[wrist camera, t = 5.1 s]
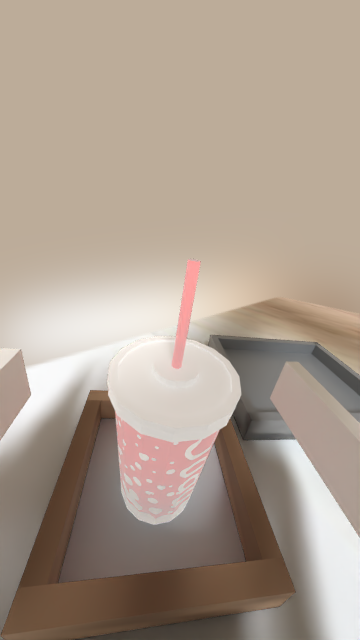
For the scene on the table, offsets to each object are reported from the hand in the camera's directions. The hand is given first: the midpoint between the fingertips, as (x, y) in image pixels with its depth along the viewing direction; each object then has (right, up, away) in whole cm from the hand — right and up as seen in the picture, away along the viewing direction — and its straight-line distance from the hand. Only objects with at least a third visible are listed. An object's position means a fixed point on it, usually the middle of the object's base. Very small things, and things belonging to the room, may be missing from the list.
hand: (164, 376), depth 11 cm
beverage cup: (-1, -8, +3) cm, 8 cm away
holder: (-1, -7, +3) cm, 8 cm away
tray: (+13, -5, +13) cm, 19 cm away
